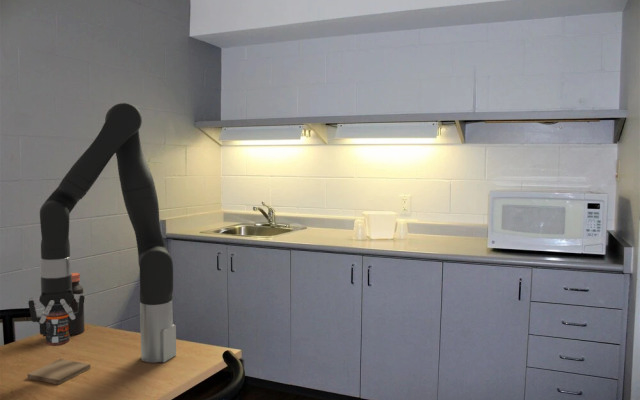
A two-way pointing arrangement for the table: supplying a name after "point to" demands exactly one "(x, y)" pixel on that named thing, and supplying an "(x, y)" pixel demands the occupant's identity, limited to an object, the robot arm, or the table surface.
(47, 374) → the tan board
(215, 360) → the table surface
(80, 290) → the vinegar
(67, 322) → the supplement bottle
